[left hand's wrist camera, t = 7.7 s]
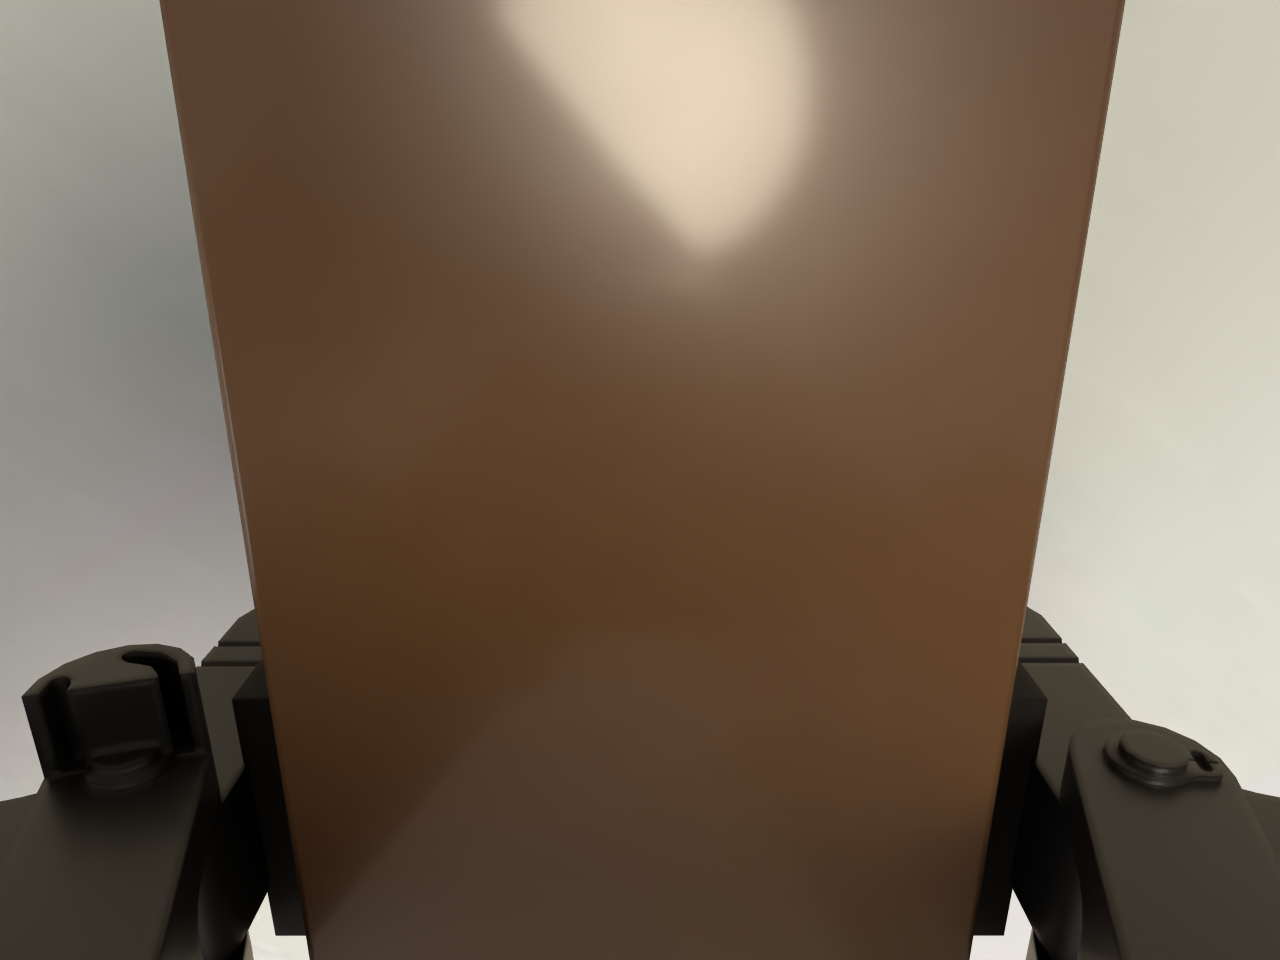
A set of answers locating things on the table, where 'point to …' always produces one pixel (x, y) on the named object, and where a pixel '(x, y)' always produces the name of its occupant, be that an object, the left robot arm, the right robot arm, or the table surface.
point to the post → (641, 449)
